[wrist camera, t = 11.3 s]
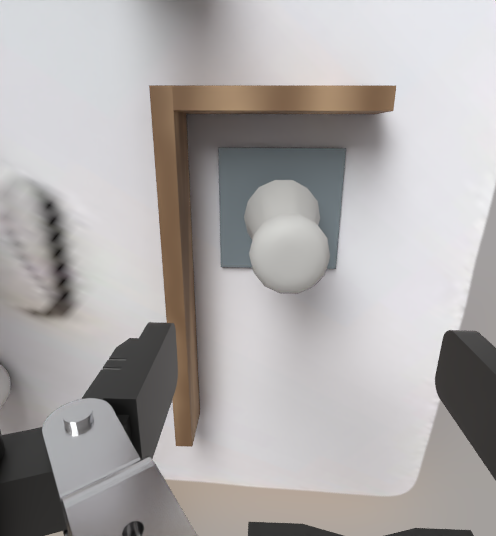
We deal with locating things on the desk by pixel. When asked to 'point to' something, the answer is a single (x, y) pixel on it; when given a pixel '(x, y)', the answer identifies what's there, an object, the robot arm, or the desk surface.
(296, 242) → the salt shaker
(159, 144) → the wooden l-shaped bracket
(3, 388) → the plastic bottle
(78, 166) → the desk surface
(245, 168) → the pad
